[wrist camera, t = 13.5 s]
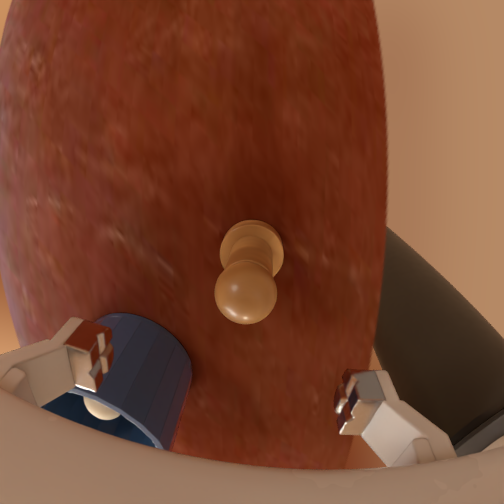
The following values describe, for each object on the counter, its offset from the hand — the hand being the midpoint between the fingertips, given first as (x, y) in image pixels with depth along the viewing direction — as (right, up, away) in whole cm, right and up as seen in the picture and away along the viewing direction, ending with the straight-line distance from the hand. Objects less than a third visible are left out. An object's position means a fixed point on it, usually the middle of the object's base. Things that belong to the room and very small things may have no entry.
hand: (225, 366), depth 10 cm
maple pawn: (+1, +4, +11) cm, 12 cm away
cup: (-9, -6, +15) cm, 18 cm away
